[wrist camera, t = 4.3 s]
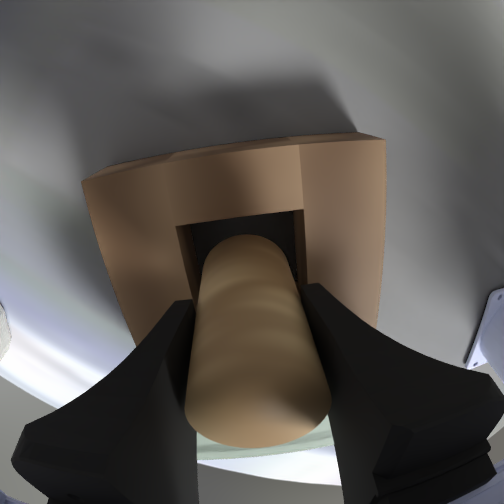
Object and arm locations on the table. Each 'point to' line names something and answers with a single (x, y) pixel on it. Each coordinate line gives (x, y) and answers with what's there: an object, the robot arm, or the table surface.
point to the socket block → (238, 205)
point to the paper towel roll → (4, 333)
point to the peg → (253, 351)
